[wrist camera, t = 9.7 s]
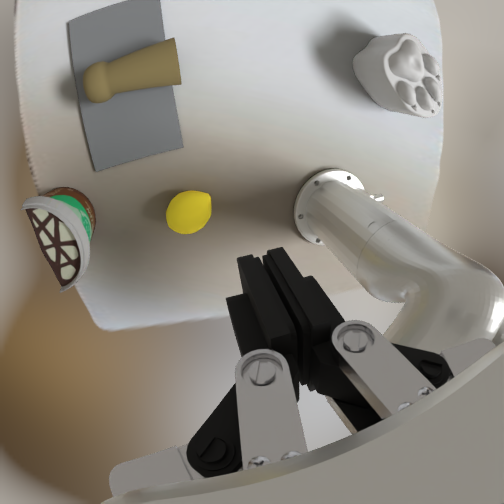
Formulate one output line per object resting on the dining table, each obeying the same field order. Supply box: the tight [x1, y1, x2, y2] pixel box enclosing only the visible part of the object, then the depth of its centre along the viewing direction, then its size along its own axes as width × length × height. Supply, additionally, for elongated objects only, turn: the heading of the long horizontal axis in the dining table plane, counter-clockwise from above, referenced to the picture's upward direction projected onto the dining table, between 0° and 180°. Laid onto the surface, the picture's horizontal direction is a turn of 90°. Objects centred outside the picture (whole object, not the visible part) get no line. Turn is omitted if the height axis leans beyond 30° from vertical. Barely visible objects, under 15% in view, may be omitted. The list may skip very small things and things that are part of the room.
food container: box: [21, 187, 96, 292], centre depth 31 cm, size 12×6×10 cm, turn 7°
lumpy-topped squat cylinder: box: [353, 33, 443, 118], centre depth 31 cm, size 10×13×9 cm
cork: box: [83, 38, 181, 103], centre depth 25 cm, size 6×6×11 cm
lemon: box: [166, 190, 211, 234], centre depth 36 cm, size 7×5×5 cm
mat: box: [69, 0, 184, 172], centre depth 27 cm, size 12×22×1 cm, turn 6°
